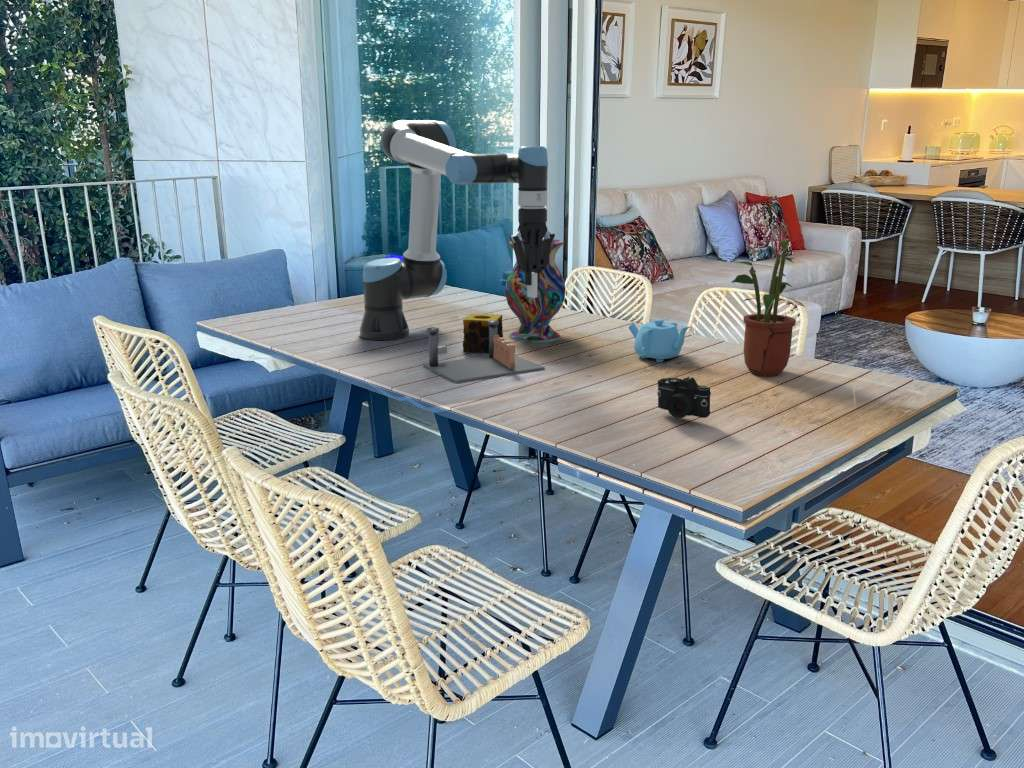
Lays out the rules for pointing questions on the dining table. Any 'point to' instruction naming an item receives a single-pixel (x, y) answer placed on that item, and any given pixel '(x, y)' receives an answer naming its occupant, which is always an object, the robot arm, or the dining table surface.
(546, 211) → the robot arm
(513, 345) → the gate
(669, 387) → the film camera
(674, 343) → the teapot
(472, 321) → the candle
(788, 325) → the potted plant
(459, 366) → the mat
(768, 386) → the dining table surface
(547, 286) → the vase
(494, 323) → the glossy grey waisted cylinder
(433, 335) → the latch post
